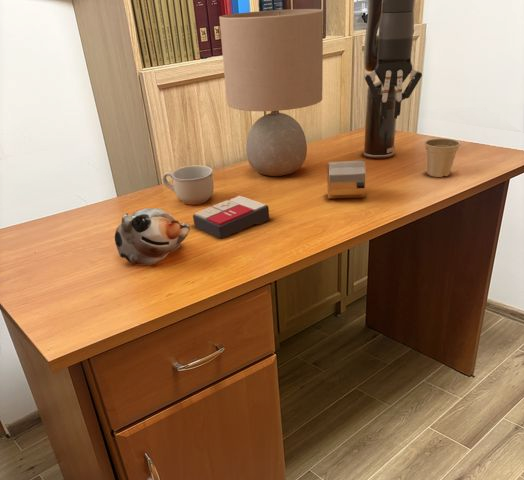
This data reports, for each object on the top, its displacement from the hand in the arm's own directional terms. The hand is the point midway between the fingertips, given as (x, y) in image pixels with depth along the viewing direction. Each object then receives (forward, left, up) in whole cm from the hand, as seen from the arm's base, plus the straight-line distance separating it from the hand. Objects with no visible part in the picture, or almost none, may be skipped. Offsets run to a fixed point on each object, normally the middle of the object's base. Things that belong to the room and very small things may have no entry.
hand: (389, 117), depth 130 cm
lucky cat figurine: (+33, -54, -19) cm, 66 cm away
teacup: (-2, -52, -19) cm, 55 cm away
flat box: (+16, -38, -19) cm, 46 cm away
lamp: (-25, -28, -19) cm, 43 cm away
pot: (0, -10, -19) cm, 22 cm away
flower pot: (-16, +18, -19) cm, 31 cm away
